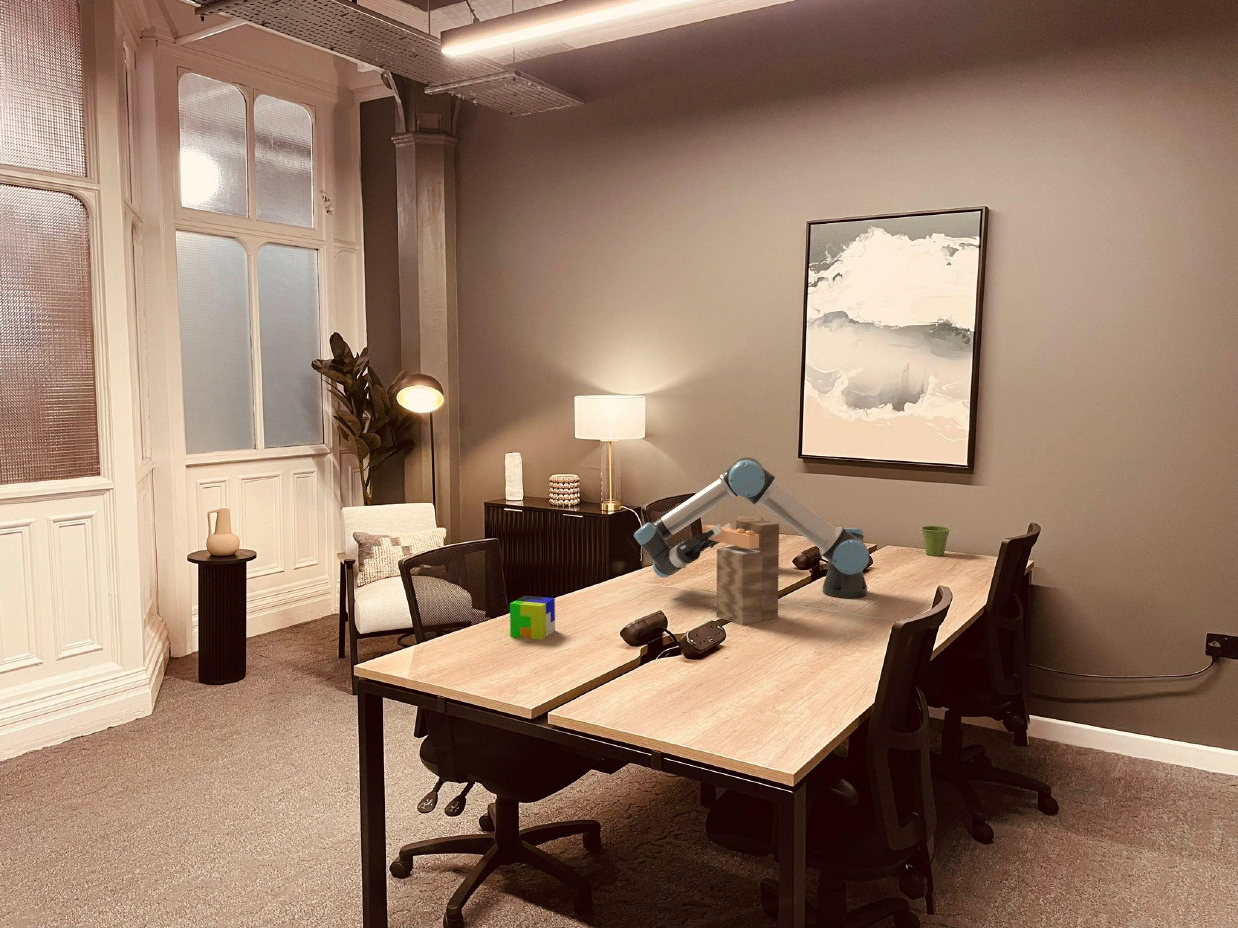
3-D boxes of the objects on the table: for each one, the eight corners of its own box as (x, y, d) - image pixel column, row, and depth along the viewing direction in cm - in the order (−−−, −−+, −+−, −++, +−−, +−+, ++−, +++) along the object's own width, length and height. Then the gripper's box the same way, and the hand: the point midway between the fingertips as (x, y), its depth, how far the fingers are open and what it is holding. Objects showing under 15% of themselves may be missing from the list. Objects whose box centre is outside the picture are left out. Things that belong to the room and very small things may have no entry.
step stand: (716, 616, 293) (717, 522, 290) (751, 609, 301) (752, 518, 298) (742, 625, 283) (743, 528, 280) (777, 617, 291) (779, 523, 288)
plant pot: (915, 552, 393) (915, 526, 392) (941, 551, 394) (942, 525, 393) (927, 557, 381) (928, 530, 380) (954, 557, 382) (955, 530, 381)
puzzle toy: (555, 630, 278) (554, 598, 277) (541, 639, 269) (541, 606, 268) (524, 627, 281) (524, 595, 280) (510, 636, 272) (509, 603, 271)
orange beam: (702, 538, 299) (702, 522, 299) (711, 536, 301) (712, 521, 301) (749, 548, 281) (749, 532, 281) (758, 547, 283) (759, 531, 283)
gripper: (708, 560, 314) (749, 535, 296) (668, 566, 304) (709, 541, 286) (701, 540, 316) (742, 513, 298) (661, 545, 306) (701, 518, 289)
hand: (725, 527), depth 292 cm, fingers closed on orange beam, 4 cm apart
